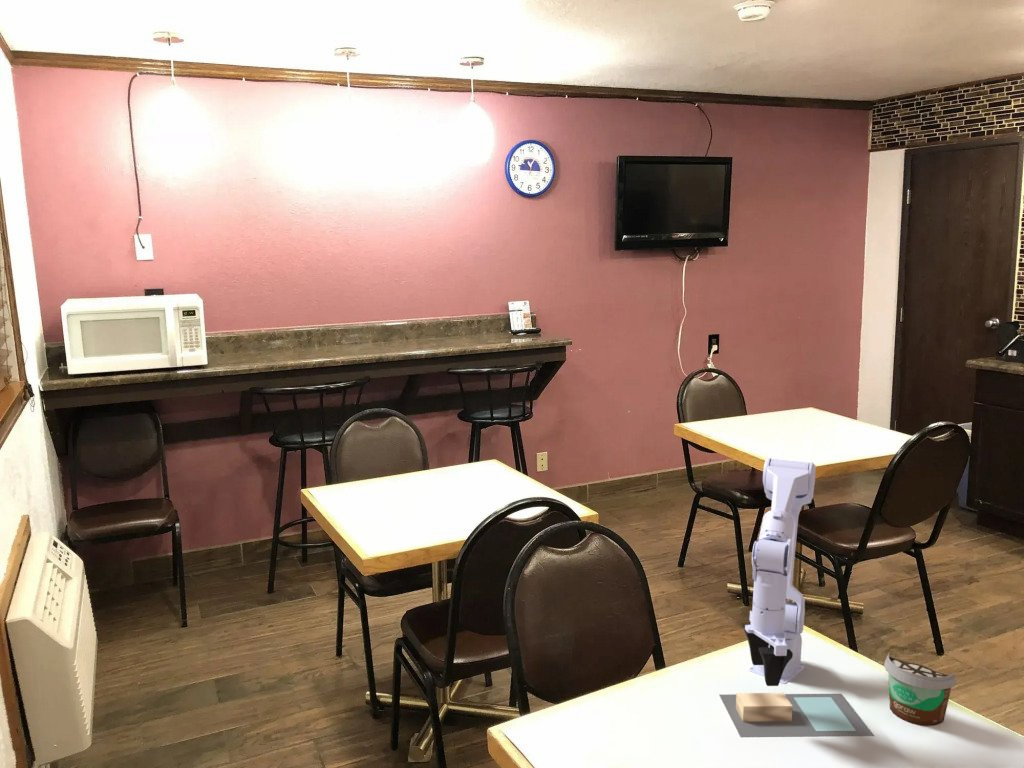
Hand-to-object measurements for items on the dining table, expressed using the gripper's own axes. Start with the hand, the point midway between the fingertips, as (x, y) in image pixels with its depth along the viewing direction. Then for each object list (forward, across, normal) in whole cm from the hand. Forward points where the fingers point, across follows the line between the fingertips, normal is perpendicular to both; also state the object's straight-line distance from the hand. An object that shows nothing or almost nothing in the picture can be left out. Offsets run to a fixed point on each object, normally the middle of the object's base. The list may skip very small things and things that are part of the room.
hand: (765, 674), depth 150 cm
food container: (+9, +1, +28) cm, 29 cm away
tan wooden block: (+8, 0, 0) cm, 8 cm away
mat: (+8, 0, +6) cm, 10 cm away
